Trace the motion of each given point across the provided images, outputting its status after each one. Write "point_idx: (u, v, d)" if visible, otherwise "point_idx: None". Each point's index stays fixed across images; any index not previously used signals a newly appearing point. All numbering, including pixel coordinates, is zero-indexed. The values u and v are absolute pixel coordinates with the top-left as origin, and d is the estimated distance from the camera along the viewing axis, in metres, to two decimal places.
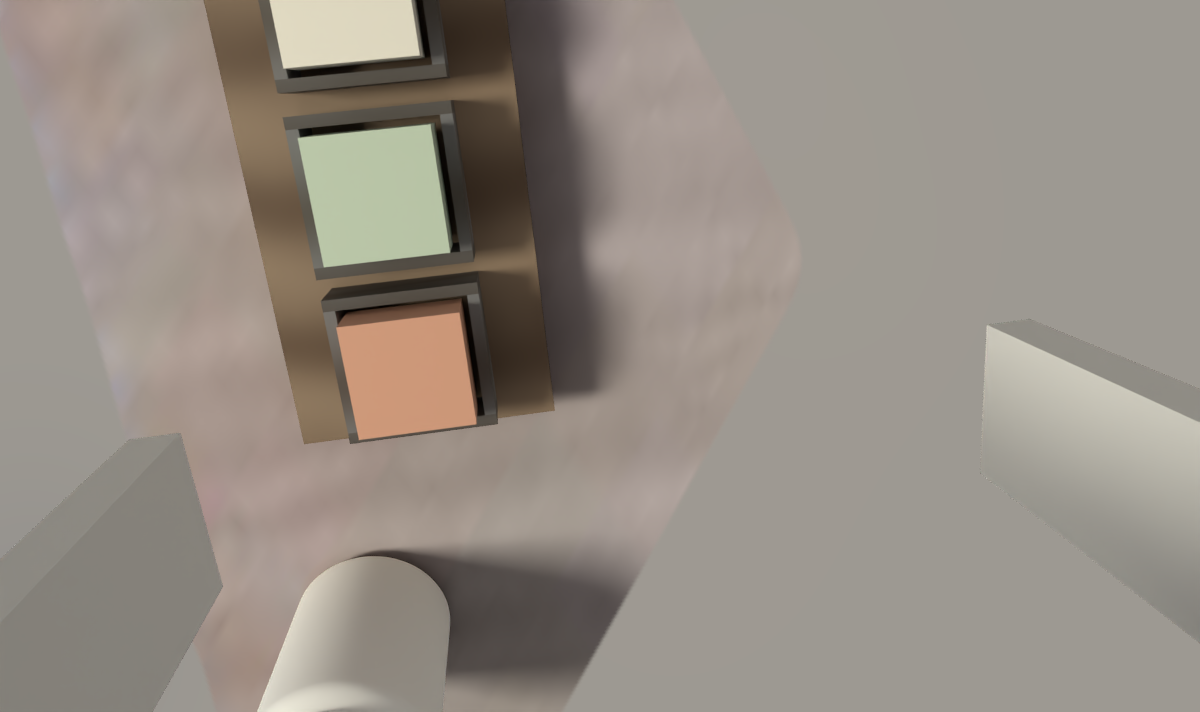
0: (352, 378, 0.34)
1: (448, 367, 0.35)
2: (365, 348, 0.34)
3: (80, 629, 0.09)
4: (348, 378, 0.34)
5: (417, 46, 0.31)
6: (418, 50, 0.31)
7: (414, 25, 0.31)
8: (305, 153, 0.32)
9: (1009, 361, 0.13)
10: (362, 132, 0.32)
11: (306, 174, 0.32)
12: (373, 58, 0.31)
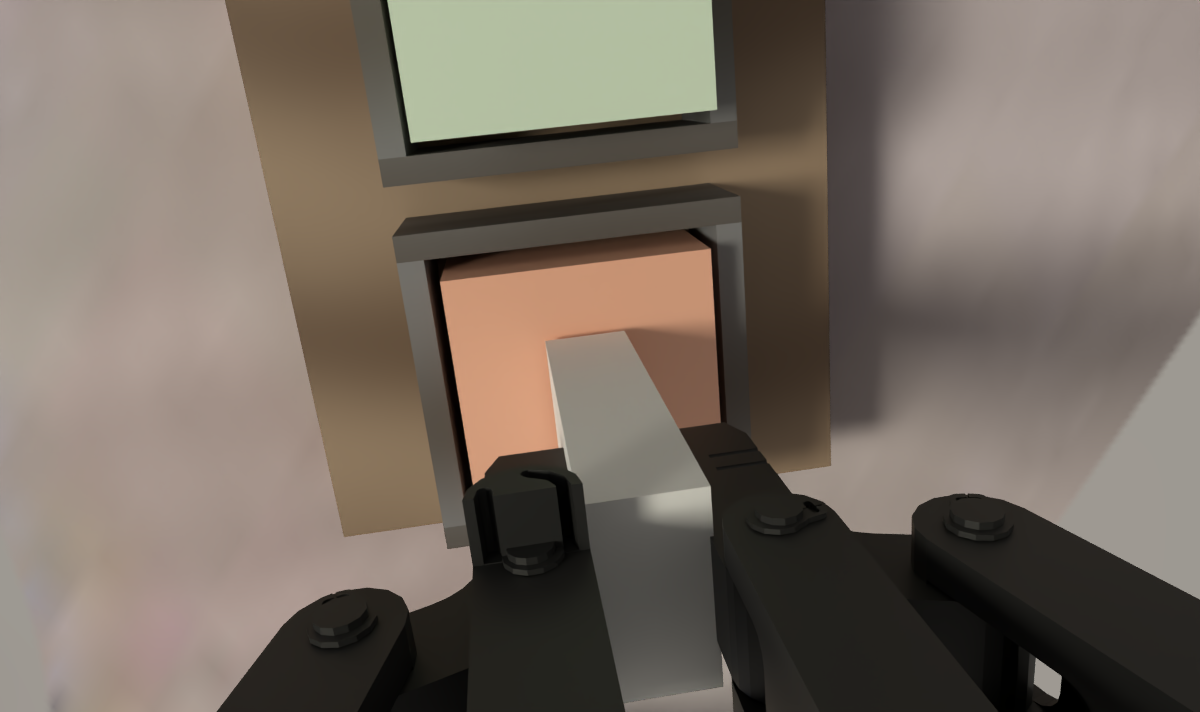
0: (471, 395, 0.16)
1: (677, 369, 0.16)
2: (502, 330, 0.15)
3: None
4: (462, 395, 0.16)
5: None
6: None
7: None
8: None
9: None
10: None
11: None
12: None
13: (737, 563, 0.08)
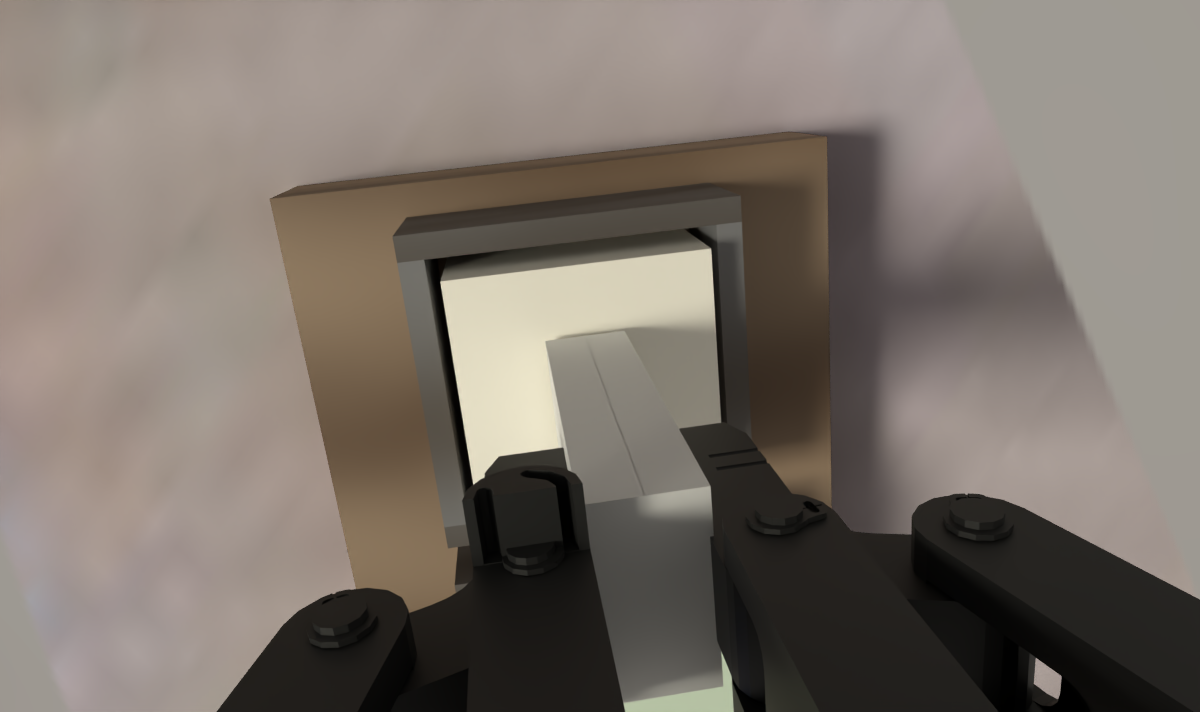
0: None
1: None
2: None
3: None
4: None
5: None
6: None
7: None
8: None
9: None
10: None
11: None
12: None
13: (737, 563, 0.08)
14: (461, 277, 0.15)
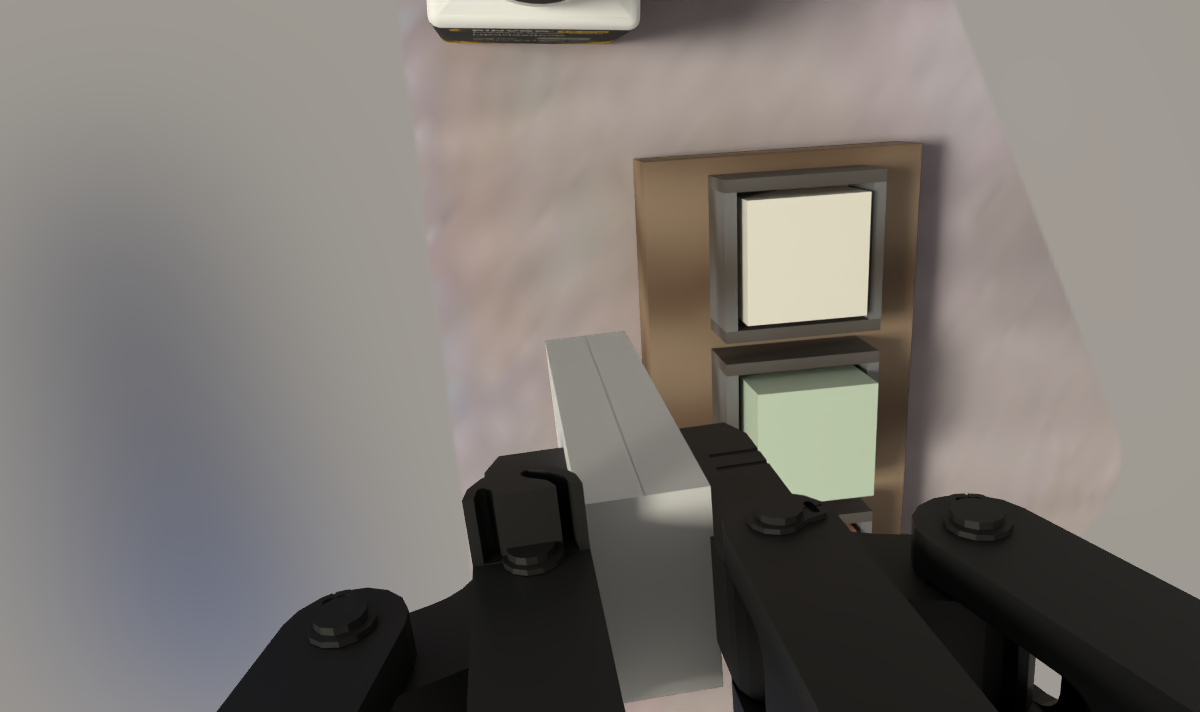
0: None
1: None
2: None
3: None
4: None
5: (866, 307, 0.34)
6: (865, 310, 0.34)
7: (866, 290, 0.34)
8: (761, 408, 0.33)
9: None
10: (816, 390, 0.33)
11: (759, 426, 0.33)
12: (826, 317, 0.34)
13: (737, 564, 0.08)
14: (755, 199, 0.32)
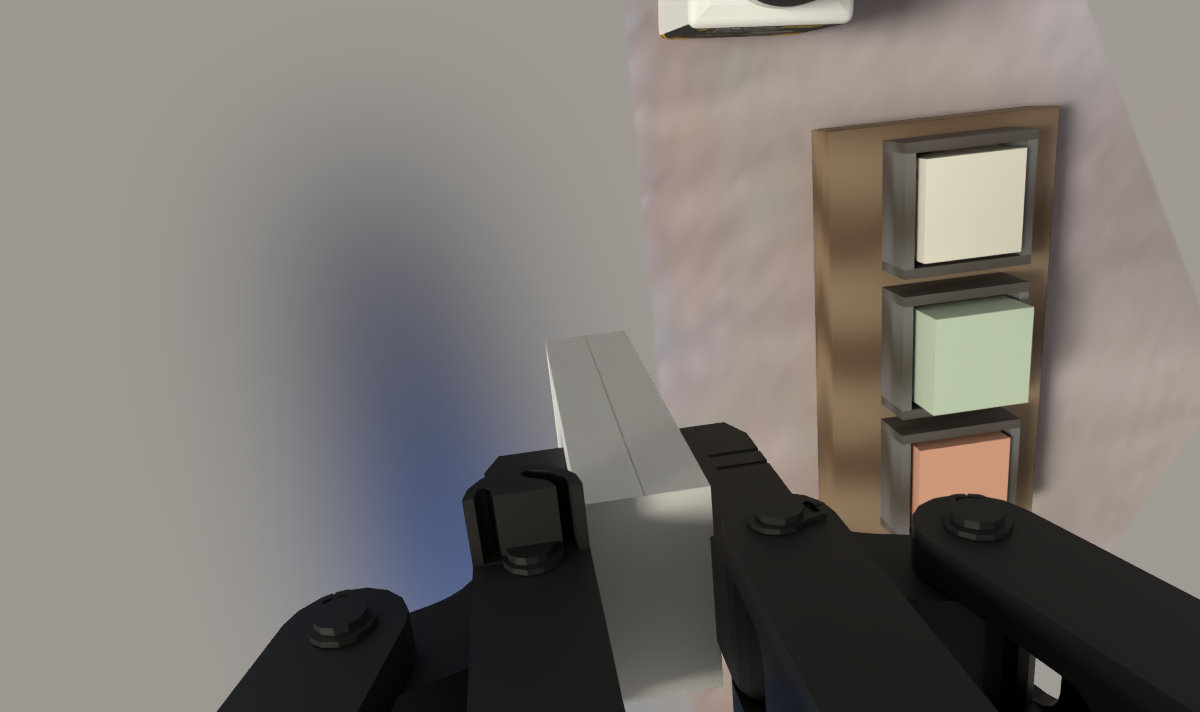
0: (923, 488, 0.44)
1: (994, 478, 0.44)
2: (937, 466, 0.44)
3: None
4: (920, 488, 0.44)
5: (1020, 245, 0.41)
6: (1019, 247, 0.41)
7: (1021, 230, 0.40)
8: (938, 330, 0.40)
9: None
10: (983, 314, 0.40)
11: (936, 346, 0.40)
12: (988, 254, 0.41)
13: (737, 563, 0.08)
14: (932, 158, 0.39)
